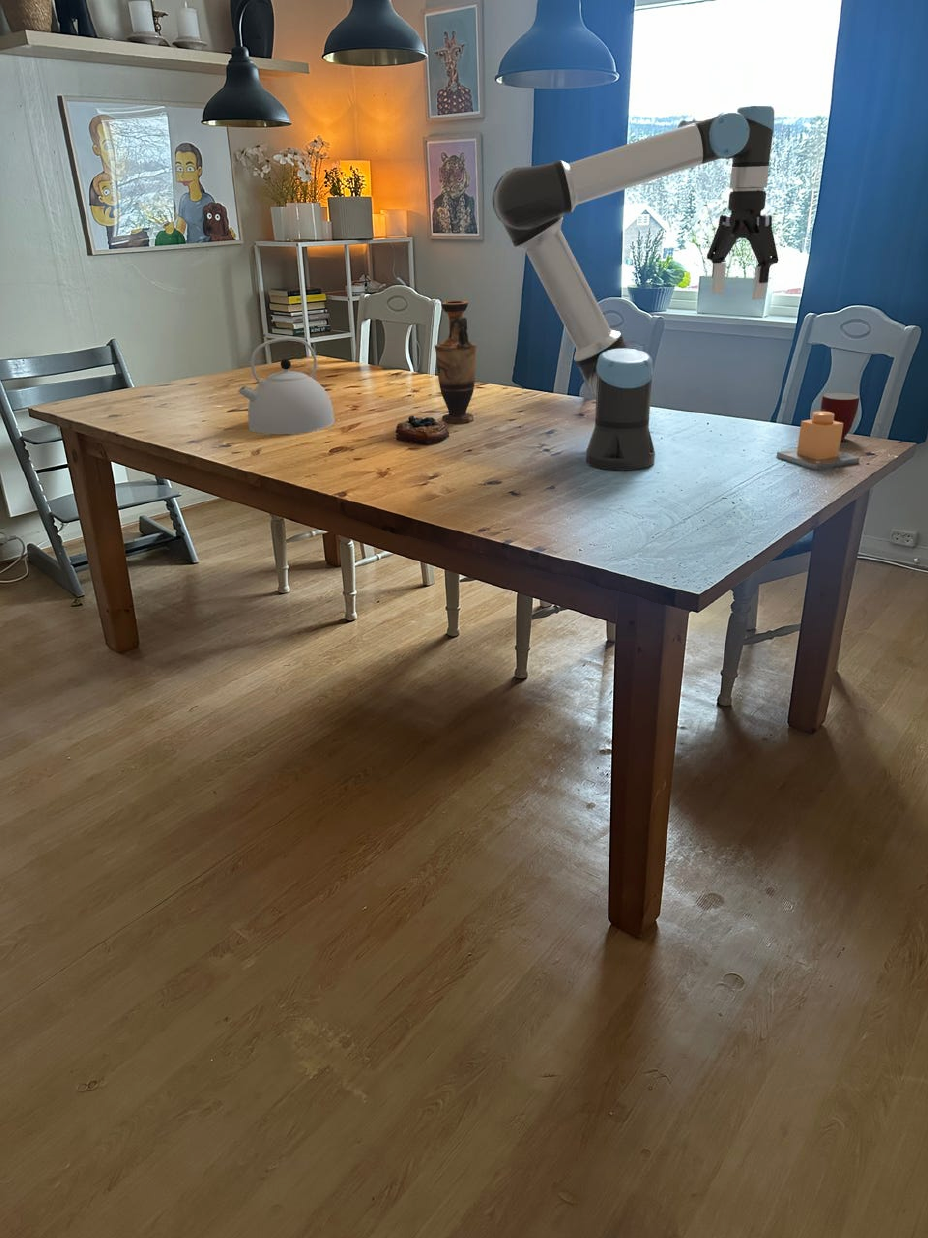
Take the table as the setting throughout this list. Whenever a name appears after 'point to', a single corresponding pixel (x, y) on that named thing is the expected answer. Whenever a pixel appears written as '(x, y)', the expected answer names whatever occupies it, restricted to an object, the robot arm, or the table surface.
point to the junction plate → (818, 464)
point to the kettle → (287, 400)
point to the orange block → (820, 436)
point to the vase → (456, 365)
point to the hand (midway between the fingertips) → (737, 296)
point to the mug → (841, 408)
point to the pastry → (422, 431)
